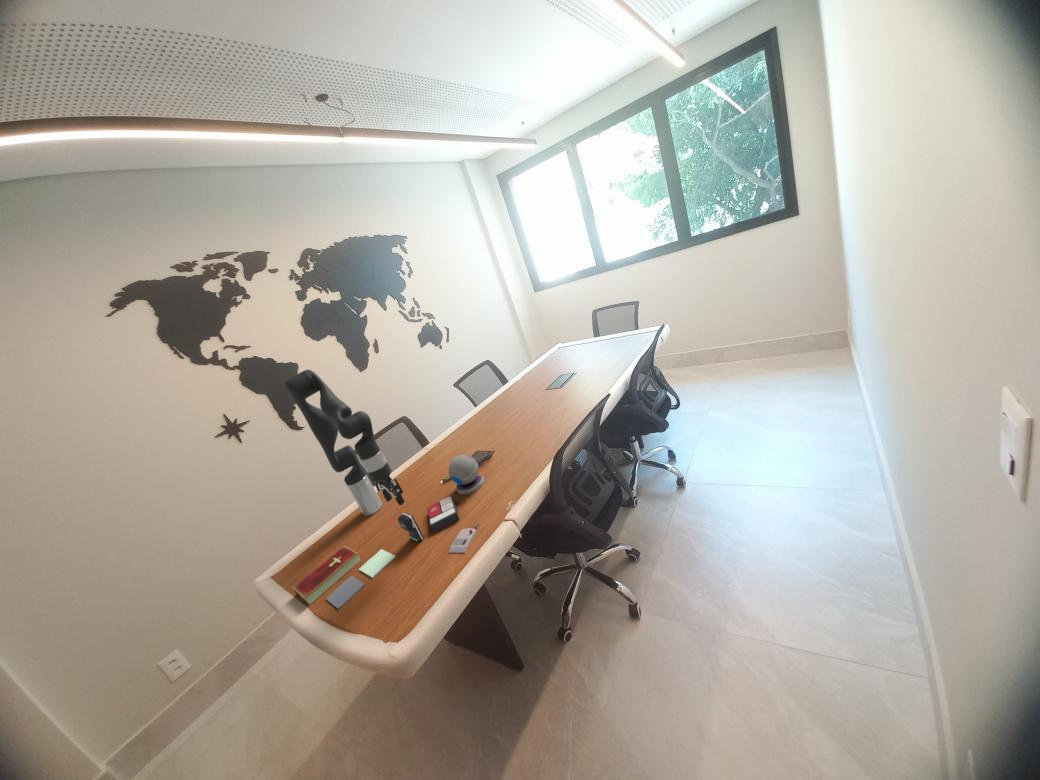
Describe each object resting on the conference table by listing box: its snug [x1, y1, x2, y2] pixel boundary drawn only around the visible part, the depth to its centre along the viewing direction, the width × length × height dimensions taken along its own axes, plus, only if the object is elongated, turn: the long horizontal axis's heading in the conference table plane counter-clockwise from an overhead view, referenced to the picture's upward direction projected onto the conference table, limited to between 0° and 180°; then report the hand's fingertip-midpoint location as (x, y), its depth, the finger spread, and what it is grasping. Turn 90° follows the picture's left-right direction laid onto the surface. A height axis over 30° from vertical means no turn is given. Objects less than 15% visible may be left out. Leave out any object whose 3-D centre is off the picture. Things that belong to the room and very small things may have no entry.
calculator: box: [427, 496, 461, 533], centre depth 151 cm, size 11×4×15 cm
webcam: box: [448, 453, 485, 496], centre depth 165 cm, size 13×13×15 cm
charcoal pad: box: [325, 575, 366, 610], centre depth 129 cm, size 10×10×1 cm
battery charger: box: [397, 512, 425, 544], centre depth 141 cm, size 7×4×11 cm, turn 49°
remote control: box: [448, 522, 479, 554], centre depth 133 cm, size 7×16×3 cm, turn 160°
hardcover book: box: [292, 545, 361, 605], centre depth 139 cm, size 12×21×4 cm, turn 142°
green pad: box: [358, 548, 396, 579], centre depth 138 cm, size 10×10×1 cm
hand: (395, 502), depth 138 cm, fingers open, 8 cm apart
